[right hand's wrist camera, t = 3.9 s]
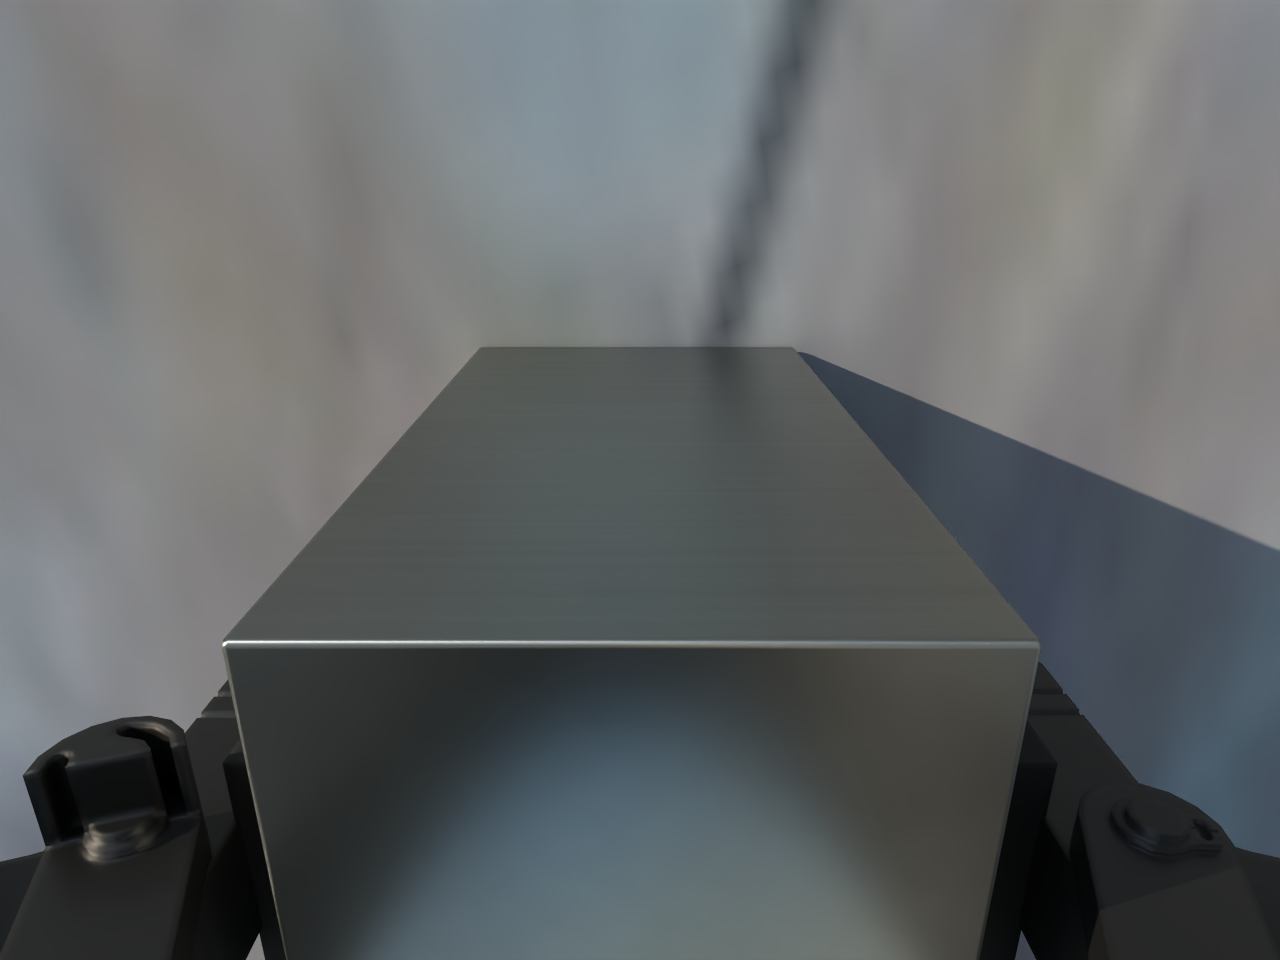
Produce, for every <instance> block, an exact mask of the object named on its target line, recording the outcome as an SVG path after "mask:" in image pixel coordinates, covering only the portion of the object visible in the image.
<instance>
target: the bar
mask: <svg viewBox="0 0 1280 960" xmlns="http://www.w3.org/2000/svg"><path fill="white" fill-rule="evenodd" d="M1040 650H1041V644H1040V640H1039V638H1038V637H1037V636H1036V635H1035V634H1034V632H1033V631H1032V630H1031V629H1030V628H1029V626H1028V625H1027V624H1026V623H1025V622H1024V620H1023V619H1022V618H1021V617H1020V616H1019V615H1018V613H1017V612H1016V611H1015V610H1014V609H1013V607H1012V606H1011V605H1010V604H1009V603H1008V602H1007V600H1006V599H1005V598H1004V597H1003V596H1002V594H1001V593H1000V592H999V591H998V590H997V588H996V587H995V586H994V585H993V584H992V583H991V581H990V580H989V579H988V578H987V577H986V575H985V574H984V573H983V572H982V571H981V570H980V568H979V567H978V566H977V565H976V564H975V562H974V561H973V560H972V559H971V558H970V557H969V555H968V554H967V553H966V552H965V551H964V549H963V548H962V547H961V546H960V545H959V543H958V542H957V541H956V540H955V539H954V538H953V536H952V535H951V534H950V533H949V532H948V530H947V529H946V528H945V527H944V526H943V525H942V523H941V522H940V521H939V520H938V519H937V517H936V516H935V515H934V514H933V513H932V511H931V510H930V509H929V508H928V507H927V506H926V504H925V503H924V502H923V501H922V500H921V498H920V497H919V496H918V495H917V494H916V493H915V491H914V490H913V489H912V488H911V487H910V485H909V484H908V483H907V482H906V481H905V479H904V478H903V477H902V476H901V475H900V474H899V472H898V471H897V470H896V469H895V468H894V466H893V465H892V464H891V463H890V462H889V461H888V459H887V458H886V457H885V456H884V455H883V453H882V452H881V451H880V450H879V449H878V447H877V446H876V445H875V444H874V443H873V442H872V440H871V439H870V438H869V437H868V436H867V434H866V433H865V432H864V431H863V430H862V429H861V427H860V426H859V425H858V424H857V423H856V421H855V420H854V419H853V418H852V417H851V415H850V414H849V413H848V412H847V411H846V410H845V408H844V407H843V406H842V405H841V404H840V402H839V401H838V400H837V399H836V398H835V397H834V395H833V394H832V393H831V392H830V391H829V389H828V388H827V387H826V386H825V385H824V383H823V382H822V381H821V380H820V379H819V378H818V376H817V375H816V374H815V373H814V372H813V370H812V369H811V368H810V367H809V366H808V365H807V363H806V362H805V361H804V360H803V359H802V357H801V356H800V355H799V354H798V353H797V351H796V350H795V349H794V348H792V347H482V348H479V350H478V351H477V352H476V353H475V354H474V355H473V356H472V358H471V359H470V360H469V361H468V362H467V363H466V364H465V366H464V367H463V368H462V369H461V370H460V371H459V372H458V373H457V375H456V376H455V377H454V378H453V379H452V380H451V381H450V383H449V384H448V385H447V386H446V387H445V388H444V389H443V391H442V392H441V393H440V394H439V395H438V396H437V397H436V398H435V400H434V401H433V402H432V403H431V404H430V405H429V406H428V408H427V409H426V410H425V411H424V412H423V413H422V414H421V416H420V417H419V418H418V419H417V420H416V421H415V422H414V423H413V425H412V426H411V427H410V428H409V429H408V430H407V431H406V433H405V434H404V435H403V436H402V437H401V438H400V439H399V441H398V442H397V443H396V444H395V445H394V446H393V447H392V448H391V450H390V451H389V452H388V453H387V454H386V455H385V456H384V458H383V459H382V460H381V461H380V462H379V463H378V464H377V466H376V467H375V468H374V469H373V470H372V471H371V472H370V473H369V475H368V476H367V477H366V478H365V479H364V480H363V481H362V483H361V484H360V485H359V486H358V487H357V488H356V489H355V491H354V492H353V493H352V494H351V495H350V496H349V497H348V498H347V500H346V501H345V502H344V503H343V504H342V505H341V506H340V508H339V509H338V510H337V511H336V512H335V513H334V514H333V516H332V517H331V518H330V519H329V520H328V521H327V522H326V523H325V525H324V526H323V527H322V528H321V529H320V530H319V531H318V533H317V534H316V535H315V536H314V537H313V538H312V539H311V541H310V542H309V543H308V544H307V545H306V546H305V547H304V548H303V550H302V551H301V552H300V553H299V554H298V555H297V556H296V558H295V559H294V560H293V561H292V562H291V563H290V564H289V566H288V567H287V568H286V569H285V570H284V571H283V572H282V573H281V575H280V576H279V577H278V578H277V579H276V580H275V581H274V583H273V584H272V585H271V586H270V587H269V588H268V589H267V591H266V592H265V593H264V594H263V595H262V596H261V597H260V598H259V600H258V601H257V602H256V603H255V604H254V605H253V606H252V608H251V609H250V610H249V611H248V612H247V613H246V614H245V616H244V617H243V618H242V619H241V620H240V621H239V622H238V624H237V625H236V626H235V627H234V628H233V629H232V630H231V631H230V633H229V634H228V635H227V636H226V637H225V638H224V640H223V644H222V651H223V656H224V660H225V665H226V670H227V675H228V680H229V685H230V689H231V694H232V699H233V704H234V709H235V714H236V718H237V723H238V728H239V733H240V738H241V743H242V747H243V752H244V757H245V762H246V767H247V772H248V777H249V781H250V786H251V791H252V796H253V801H254V806H255V810H256V815H257V820H258V825H259V830H260V835H261V839H262V844H263V849H264V854H265V859H266V864H267V868H268V873H269V878H270V883H271V888H272V893H273V897H274V902H275V907H276V912H277V917H278V922H279V926H280V931H281V936H282V941H283V946H284V951H285V955H286V960H979V958H980V953H981V948H982V943H983V938H984V933H985V928H986V923H987V918H988V913H989V908H990V902H991V897H992V892H993V887H994V882H995V877H996V872H997V867H998V862H999V857H1000V852H1001V847H1002V842H1003V837H1004V832H1005V827H1006V822H1007V817H1008V812H1009V807H1010V802H1011V797H1012V792H1013V787H1014V782H1015V776H1016V771H1017V766H1018V761H1019V756H1020V751H1021V746H1022V741H1023V736H1024V731H1025V726H1026V721H1027V716H1028V711H1029V706H1030V701H1031V696H1032V691H1033V686H1034V681H1035V676H1036V671H1037V666H1038V661H1039V656H1040Z"/></svg>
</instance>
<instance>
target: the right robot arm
mask: <svg viewBox="0 0 1280 960" xmlns="http://www.w3.org/2000/svg"><path fill="white" fill-rule="evenodd" d="M23 778H24V781H25V784H26V787H27V790H28V793H29V796H30V800H31V803H32V806H33V809H34V812H35V815H36V818H37V821H38V824H39V827H40V830H41V833H42V836H43V839H44V843H45V846H46V848H45V850H44V851H42V852H39V853H36V854H32V855H28V856H24V857H19V858H15V859H11V860H6V861H2V862H0V960H246V958H247V956H248V954H249V952H250V950H251V948H252V946H253V944H254V942H255V940H256V938H257V936H258V934H259V933H260V938H261V942H262V947H263V951H264V956H265V960H286V955H285V951H284V946H283V941H282V936H281V931H280V926H279V922H278V917H277V912H276V907H275V902H274V897H273V893H272V888H271V883H270V878H269V873H268V868H267V864H266V859H265V854H264V849H263V844H262V839H261V835H260V830H259V825H258V820H257V815H256V810H255V806H254V801H253V796H252V791H251V786H250V781H249V777H248V772H247V767H246V762H245V757H244V752H243V747H242V743H241V738H240V733H239V728H238V723H237V718H236V714H235V709H234V704H233V699H232V694H231V689H230V685H229V680H227V681H226V683H225V684H224V685H223V686H222V688H221V689H220V690H219V691H218V697H214V698H213V699H212V700H211V701H210V703H209V704H208V705H207V706H206V708H205V709H204V710H203V711H202V715H201V718H197V719H196V720H195V721H194V723H193V724H192V725H191V726H190V728H189V729H188V730H187V731H186V733H185V734H184V730H183V729H182V728H180V727H179V726H178V725H177V724H175V723H174V722H173V721H172V720H169V719H163V718H158V717H153V716H142V717H129V718H121V719H117V720H113V721H109V722H106V723H102V724H98V725H95V726H91V727H89V728H87V729H85V730H83V731H80V732H78V733H76V734H74V735H72V736H69V737H67V738H65V739H63V740H61V741H60V742H59V743H57V744H56V745H54V746H53V747H51V748H50V749H49V750H47V751H46V752H44V753H43V754H42V755H40V756H39V757H38V758H37V759H36V760H35V761H34V763H33V764H32V765H31V766H30V767H29V769H28V770H27V771H26V772H25V774H24V775H23ZM1021 930H1022V932H1023V934H1024V936H1025V938H1026V940H1027V942H1028V944H1029V946H1030V948H1031V950H1032V952H1033V954H1034V956H1035V958H1036V960H1280V858H1277V857H1272V856H1268V855H1263V854H1259V853H1255V852H1250V851H1247V850H1243V849H1240V848H1237V847H1235V846H1234V845H1233V843H1232V842H1231V840H1230V839H1229V837H1228V836H1227V835H1226V833H1225V832H1224V830H1223V829H1222V827H1221V826H1220V825H1219V824H1218V823H1216V822H1215V821H1214V820H1213V819H1211V818H1210V817H1209V816H1208V815H1206V814H1205V813H1204V812H1203V811H1202V810H1200V809H1199V808H1198V807H1196V806H1194V805H1192V804H1190V803H1188V802H1187V801H1185V800H1183V799H1181V798H1179V797H1177V796H1175V795H1173V794H1171V793H1169V792H1166V791H1163V790H1159V789H1156V788H1153V787H1150V786H1146V785H1143V784H1139V783H1138V782H1137V781H1136V780H1135V778H1134V777H1133V776H1132V775H1131V773H1130V772H1129V771H1128V770H1127V768H1126V767H1125V766H1124V765H1123V763H1122V762H1121V761H1120V760H1119V758H1118V757H1117V756H1116V755H1115V754H1114V752H1113V751H1112V750H1111V749H1110V747H1109V746H1108V745H1107V744H1106V742H1105V741H1104V740H1103V739H1102V737H1101V736H1100V735H1099V734H1098V732H1097V731H1096V730H1095V729H1094V728H1093V726H1092V725H1091V724H1090V723H1089V721H1088V720H1087V719H1086V718H1085V716H1084V715H1080V714H1079V709H1078V708H1077V706H1076V705H1075V704H1074V703H1073V702H1072V700H1071V699H1070V698H1069V697H1068V695H1067V694H1063V692H1062V688H1061V687H1060V685H1059V684H1058V683H1057V682H1056V680H1055V679H1054V678H1053V677H1052V676H1051V674H1050V673H1049V672H1048V671H1047V669H1046V668H1045V667H1044V666H1043V664H1041V663H1040V662H1038V666H1037V671H1036V676H1035V681H1034V686H1033V691H1032V696H1031V701H1030V706H1029V711H1028V716H1027V721H1026V726H1025V731H1024V736H1023V741H1022V746H1021V751H1020V756H1019V761H1018V766H1017V771H1016V776H1015V782H1014V787H1013V792H1012V797H1011V802H1010V807H1009V812H1008V817H1007V822H1006V827H1005V832H1004V837H1003V842H1002V847H1001V852H1000V857H999V862H998V867H997V872H996V877H995V882H994V887H993V892H992V897H991V902H990V908H989V913H988V918H987V923H986V928H985V933H984V938H983V943H982V948H981V953H980V958H979V960H1015V956H1016V951H1017V947H1018V942H1019V938H1020V933H1021Z"/></svg>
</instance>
